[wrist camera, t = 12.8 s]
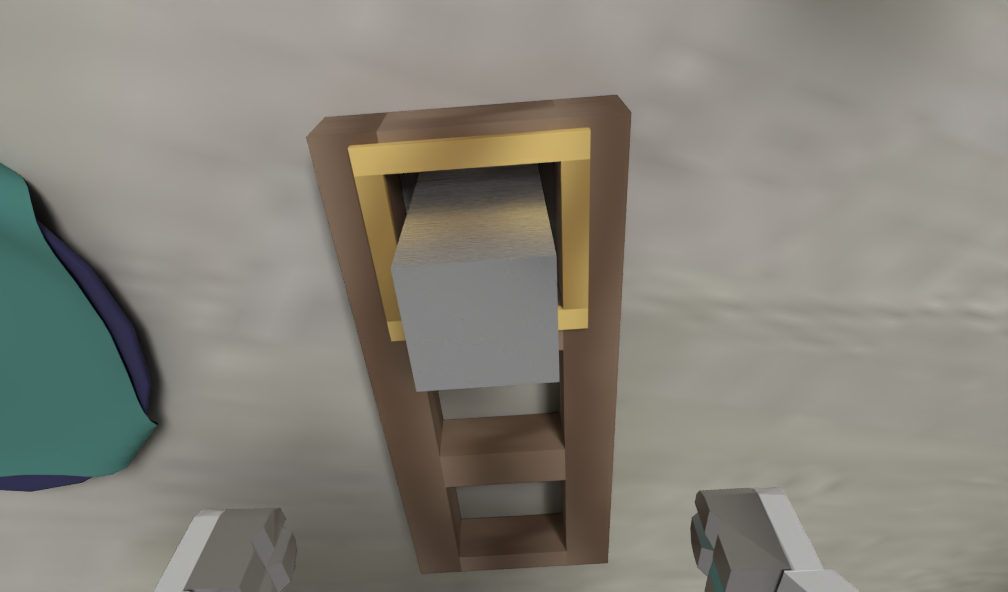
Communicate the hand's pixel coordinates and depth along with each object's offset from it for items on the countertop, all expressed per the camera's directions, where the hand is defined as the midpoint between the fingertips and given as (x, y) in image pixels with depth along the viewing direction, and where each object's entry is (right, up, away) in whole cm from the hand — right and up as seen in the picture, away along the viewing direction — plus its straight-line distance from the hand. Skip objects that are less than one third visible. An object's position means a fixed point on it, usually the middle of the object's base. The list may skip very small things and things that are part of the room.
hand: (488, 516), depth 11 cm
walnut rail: (0, +1, +17) cm, 17 cm away
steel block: (-1, +8, +12) cm, 15 cm away
